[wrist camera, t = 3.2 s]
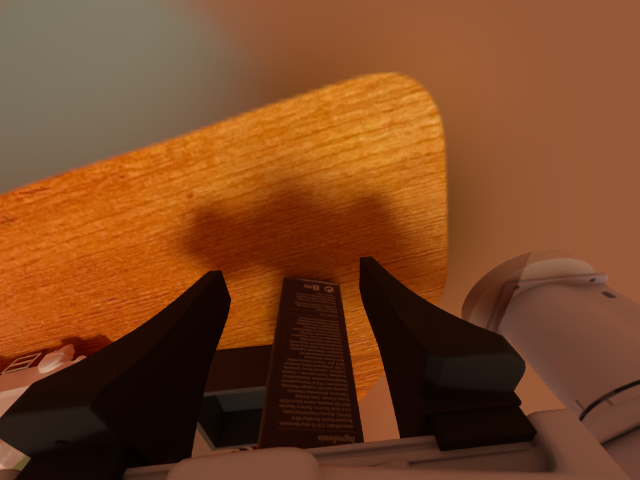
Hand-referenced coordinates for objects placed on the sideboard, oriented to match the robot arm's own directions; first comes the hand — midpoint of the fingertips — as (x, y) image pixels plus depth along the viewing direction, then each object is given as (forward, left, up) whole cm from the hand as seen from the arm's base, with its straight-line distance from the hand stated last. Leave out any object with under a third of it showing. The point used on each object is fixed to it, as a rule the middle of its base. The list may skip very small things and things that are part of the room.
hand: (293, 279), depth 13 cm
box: (0, +6, -4) cm, 7 cm away
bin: (+5, +15, -4) cm, 16 cm away
